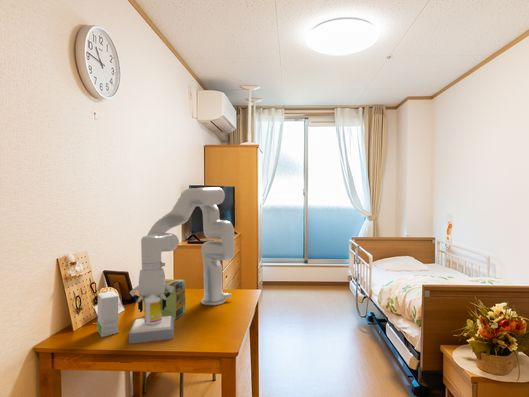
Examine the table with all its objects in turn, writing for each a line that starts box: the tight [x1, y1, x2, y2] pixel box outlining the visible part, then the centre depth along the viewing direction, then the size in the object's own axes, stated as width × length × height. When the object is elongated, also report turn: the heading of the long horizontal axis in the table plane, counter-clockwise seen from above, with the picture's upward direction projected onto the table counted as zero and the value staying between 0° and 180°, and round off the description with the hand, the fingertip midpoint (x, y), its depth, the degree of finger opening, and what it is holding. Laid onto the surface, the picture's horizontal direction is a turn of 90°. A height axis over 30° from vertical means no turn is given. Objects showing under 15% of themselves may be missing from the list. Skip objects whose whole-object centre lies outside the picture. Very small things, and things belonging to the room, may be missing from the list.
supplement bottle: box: [143, 294, 162, 325], centre depth 133 cm, size 7×7×13 cm
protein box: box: [145, 278, 187, 321], centre depth 155 cm, size 10×15×16 cm
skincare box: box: [97, 290, 119, 338], centre depth 136 cm, size 8×7×16 cm
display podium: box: [128, 316, 175, 345], centre depth 133 cm, size 16×14×4 cm
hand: (152, 309), depth 133 cm, fingers open, 8 cm apart
